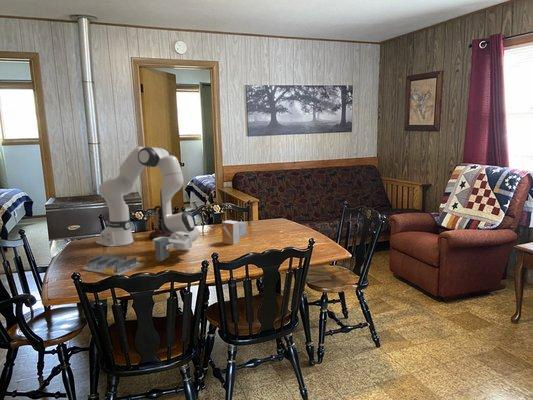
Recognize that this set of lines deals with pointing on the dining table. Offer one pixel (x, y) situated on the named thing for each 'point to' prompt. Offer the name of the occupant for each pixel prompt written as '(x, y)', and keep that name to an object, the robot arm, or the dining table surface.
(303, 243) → the dining table surface
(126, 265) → the rack
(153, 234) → the brown statue
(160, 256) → the grey rectangular block
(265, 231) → the dining table surface
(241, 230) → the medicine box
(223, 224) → the small box
